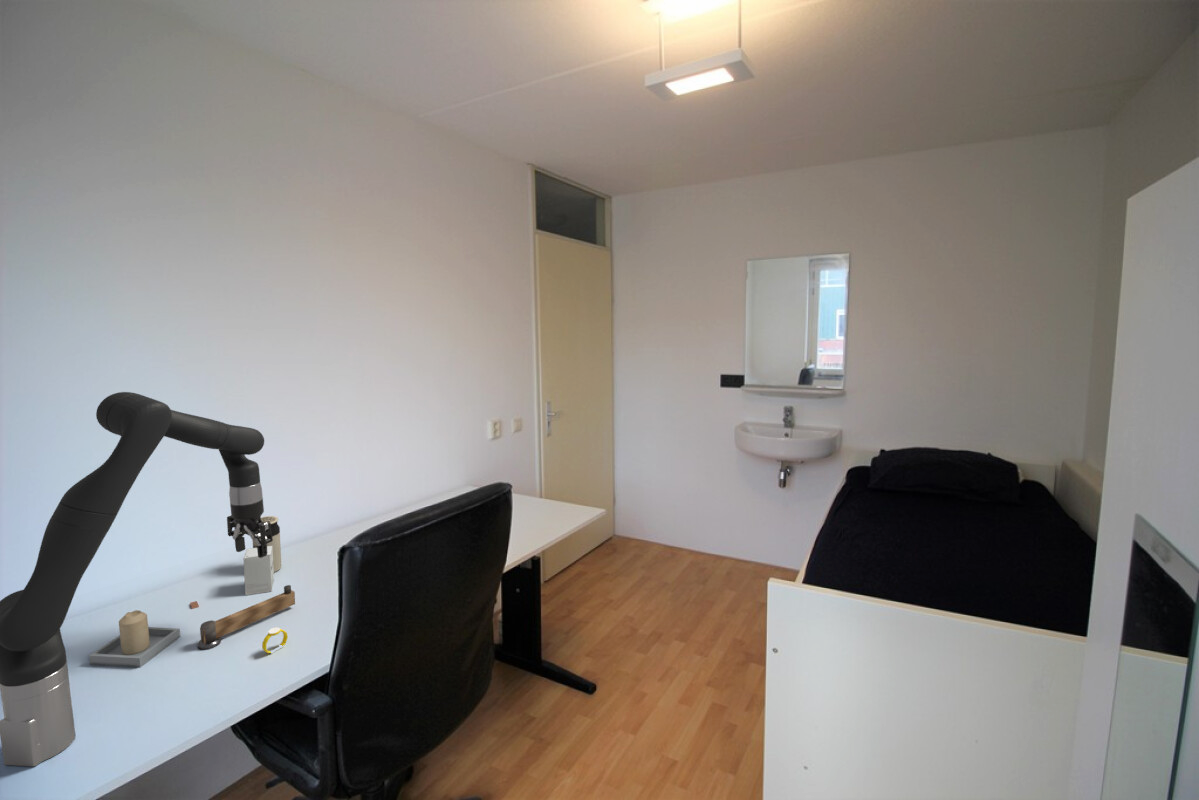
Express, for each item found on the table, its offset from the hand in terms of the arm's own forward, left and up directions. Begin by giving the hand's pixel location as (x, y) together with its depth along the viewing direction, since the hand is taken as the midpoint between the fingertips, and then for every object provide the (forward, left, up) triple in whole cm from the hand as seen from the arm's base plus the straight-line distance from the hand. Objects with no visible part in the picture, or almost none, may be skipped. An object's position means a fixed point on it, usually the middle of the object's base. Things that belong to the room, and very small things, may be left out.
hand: (251, 553), depth 149 cm
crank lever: (-1, +1, -20) cm, 20 cm away
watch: (-11, -12, -22) cm, 27 cm away
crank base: (-2, +14, -22) cm, 26 cm away
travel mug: (+31, +16, -22) cm, 41 cm away
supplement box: (+19, +11, -22) cm, 31 cm away
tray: (-14, +22, -22) cm, 34 cm away
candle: (-14, +22, -21) cm, 34 cm away
